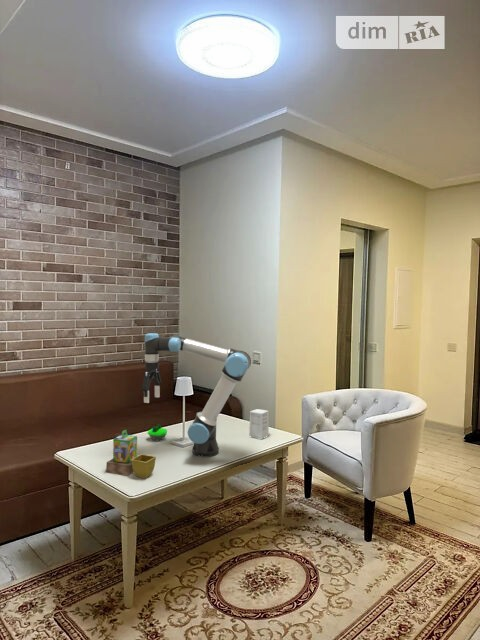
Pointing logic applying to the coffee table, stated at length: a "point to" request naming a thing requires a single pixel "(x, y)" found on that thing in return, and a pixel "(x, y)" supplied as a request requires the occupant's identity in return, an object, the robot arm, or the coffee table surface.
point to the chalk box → (124, 448)
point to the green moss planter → (157, 432)
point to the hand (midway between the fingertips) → (152, 400)
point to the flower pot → (143, 465)
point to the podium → (119, 468)
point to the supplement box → (259, 423)
